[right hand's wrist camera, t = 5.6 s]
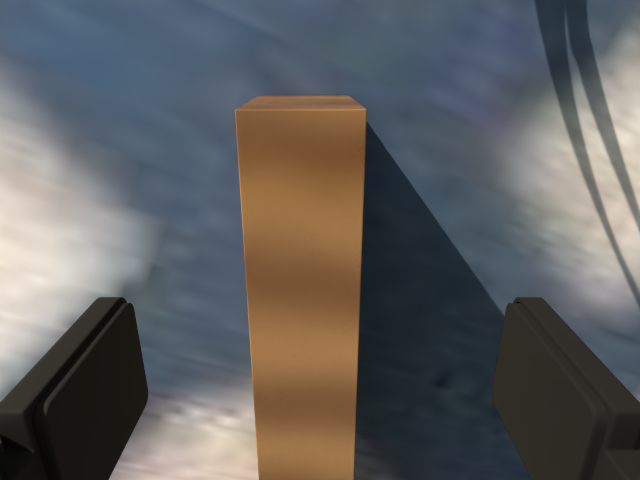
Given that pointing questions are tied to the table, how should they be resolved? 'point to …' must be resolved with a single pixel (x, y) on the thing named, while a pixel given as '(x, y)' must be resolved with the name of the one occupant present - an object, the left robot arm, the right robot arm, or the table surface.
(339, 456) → the beam
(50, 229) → the table surface
